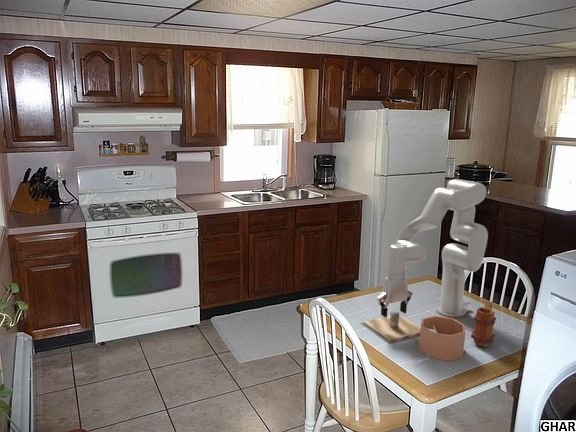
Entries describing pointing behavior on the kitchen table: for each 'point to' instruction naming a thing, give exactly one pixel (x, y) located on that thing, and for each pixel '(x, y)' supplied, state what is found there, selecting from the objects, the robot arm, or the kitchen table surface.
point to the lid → (393, 327)
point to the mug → (484, 325)
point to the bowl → (442, 338)
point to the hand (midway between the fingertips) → (393, 314)
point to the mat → (386, 340)
